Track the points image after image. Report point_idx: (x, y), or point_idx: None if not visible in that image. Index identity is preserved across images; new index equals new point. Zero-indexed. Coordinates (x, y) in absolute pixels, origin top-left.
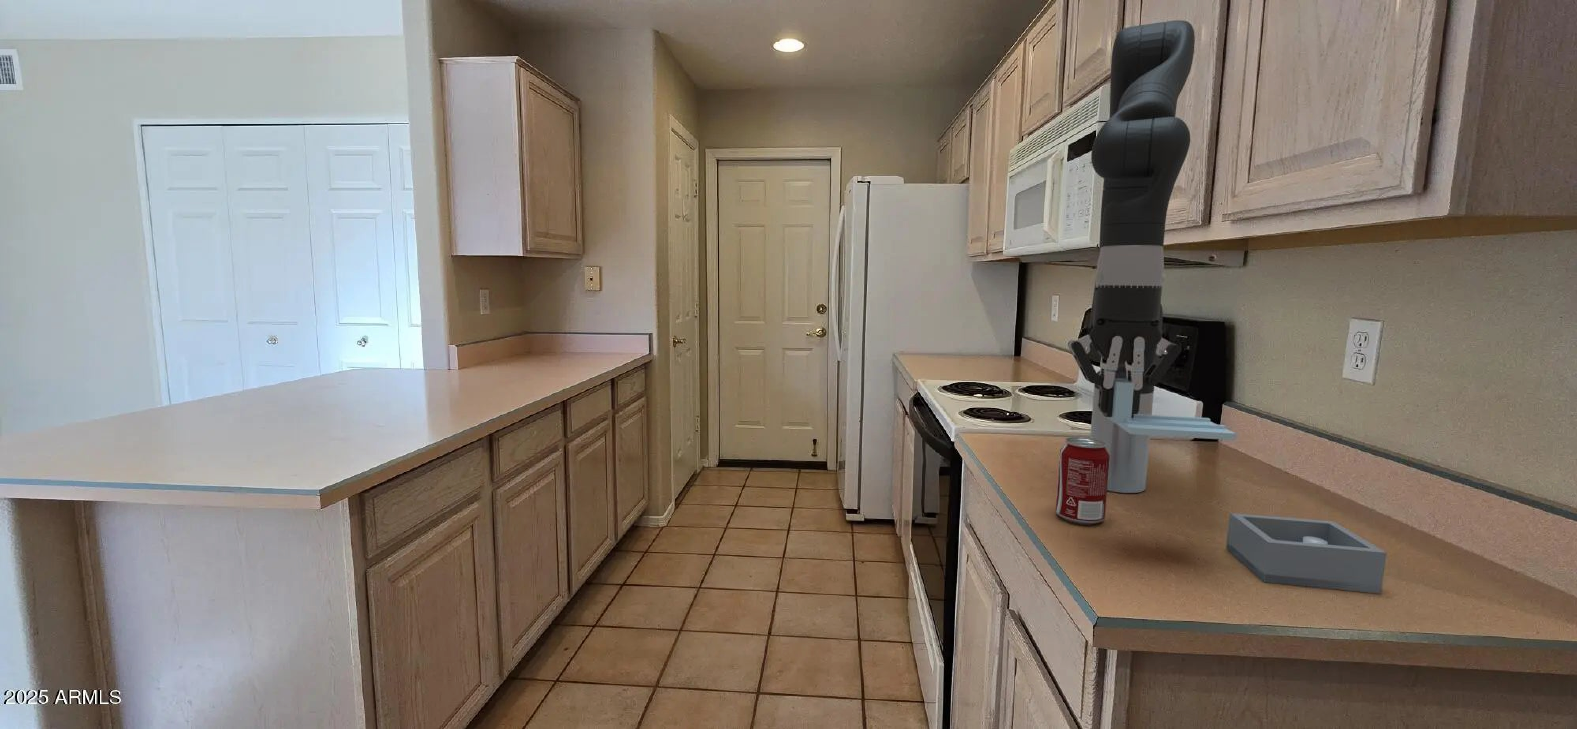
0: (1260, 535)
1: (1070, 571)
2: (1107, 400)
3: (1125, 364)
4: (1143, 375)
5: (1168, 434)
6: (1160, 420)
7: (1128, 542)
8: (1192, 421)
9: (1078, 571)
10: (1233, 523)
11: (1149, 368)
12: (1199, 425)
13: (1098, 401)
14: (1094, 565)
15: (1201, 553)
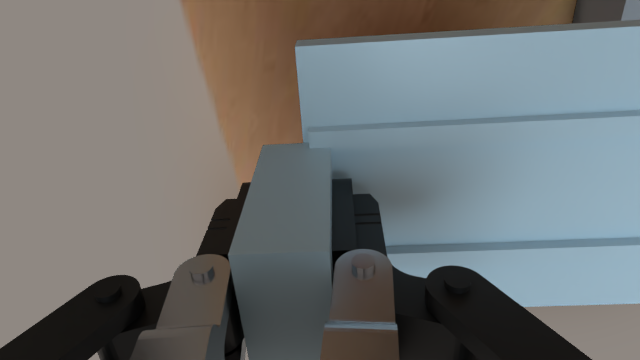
0: None
1: (241, 175)
2: None
3: (322, 340)
4: (436, 304)
5: None
6: (482, 161)
7: (372, 3)
8: (624, 138)
9: (253, 172)
10: (613, 7)
11: (479, 355)
12: (572, 259)
13: (210, 225)
14: (282, 142)
15: (508, 21)
